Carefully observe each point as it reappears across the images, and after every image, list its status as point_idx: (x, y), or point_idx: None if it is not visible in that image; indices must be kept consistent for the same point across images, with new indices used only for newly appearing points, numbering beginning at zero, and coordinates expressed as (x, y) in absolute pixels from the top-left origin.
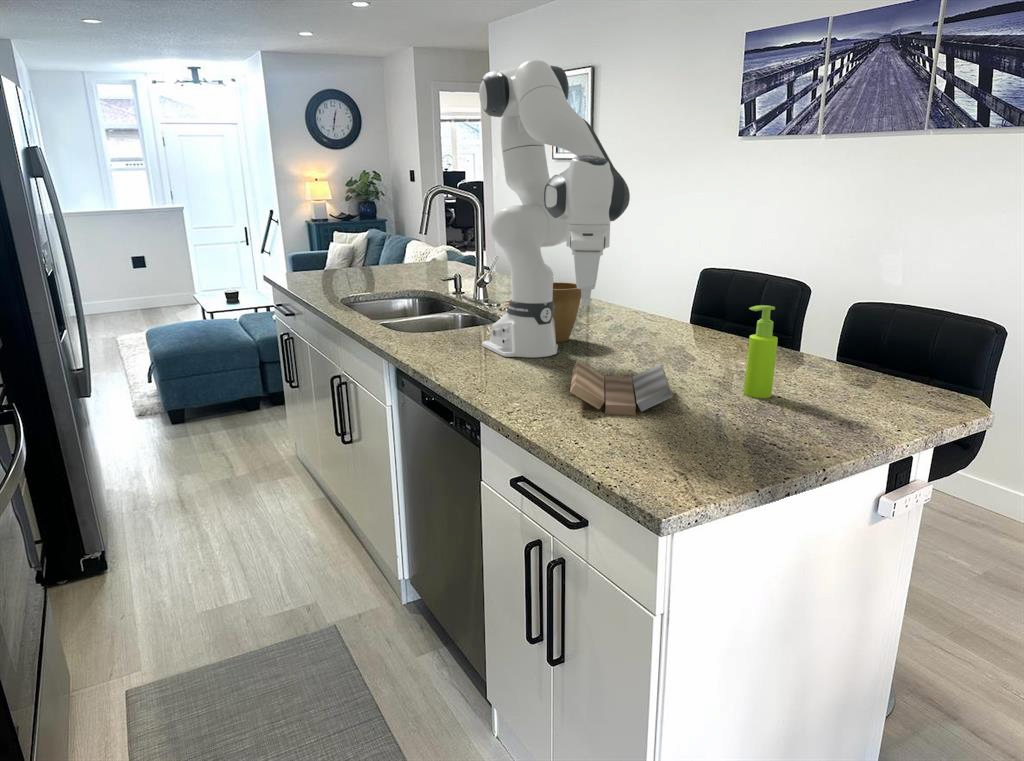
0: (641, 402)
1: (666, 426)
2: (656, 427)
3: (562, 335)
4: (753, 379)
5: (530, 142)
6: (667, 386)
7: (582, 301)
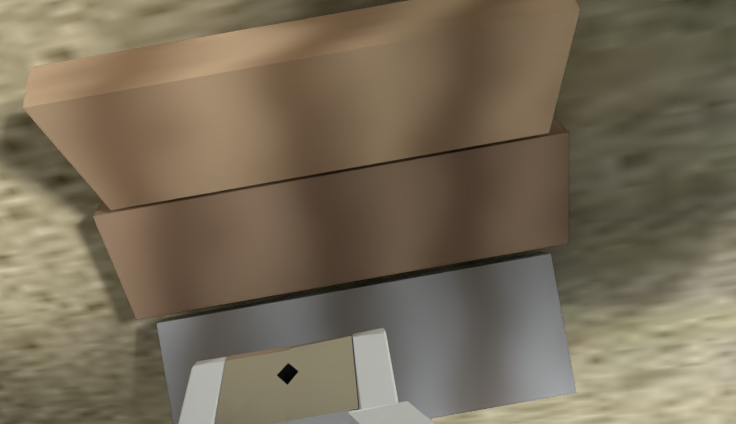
0: (160, 340)
1: (78, 392)
2: (49, 369)
3: None
4: None
5: None
6: None
7: (186, 408)
